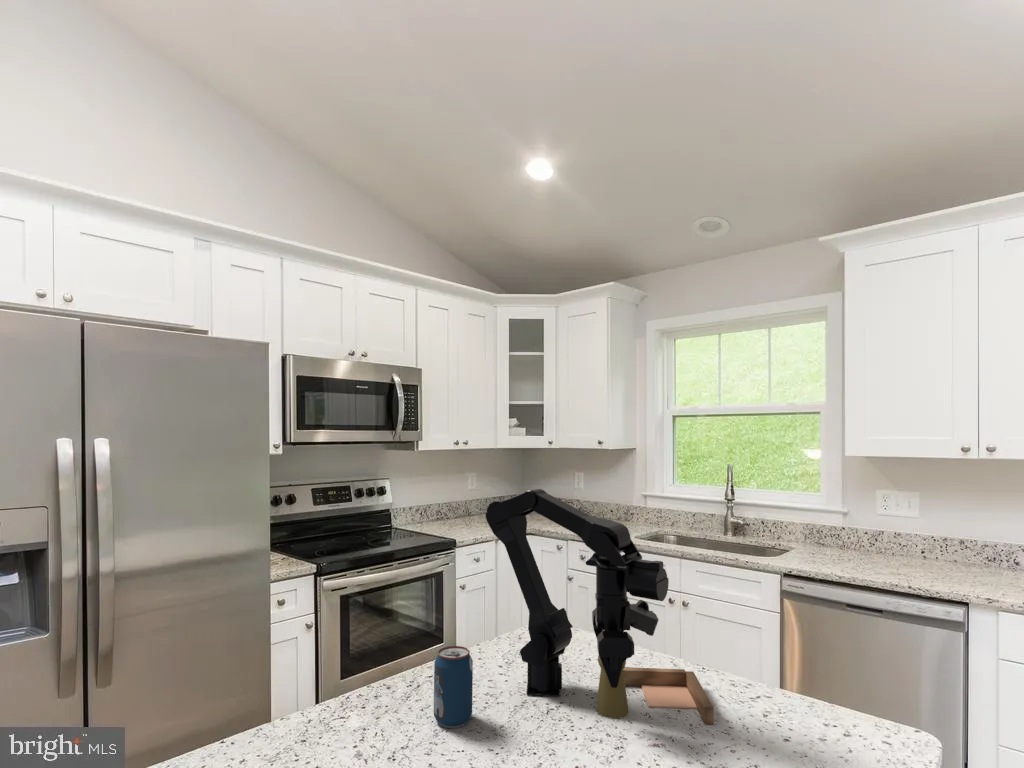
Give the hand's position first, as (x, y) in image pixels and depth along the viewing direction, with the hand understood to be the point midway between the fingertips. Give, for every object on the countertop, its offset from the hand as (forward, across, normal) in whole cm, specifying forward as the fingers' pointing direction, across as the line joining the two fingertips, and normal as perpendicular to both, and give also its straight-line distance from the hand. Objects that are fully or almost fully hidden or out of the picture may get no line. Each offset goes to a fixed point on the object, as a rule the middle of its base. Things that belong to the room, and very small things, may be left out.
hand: (611, 676), depth 112 cm
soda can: (+6, -6, +29) cm, 30 cm away
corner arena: (+6, +5, -8) cm, 11 cm away
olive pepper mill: (+6, 0, 0) cm, 6 cm away
